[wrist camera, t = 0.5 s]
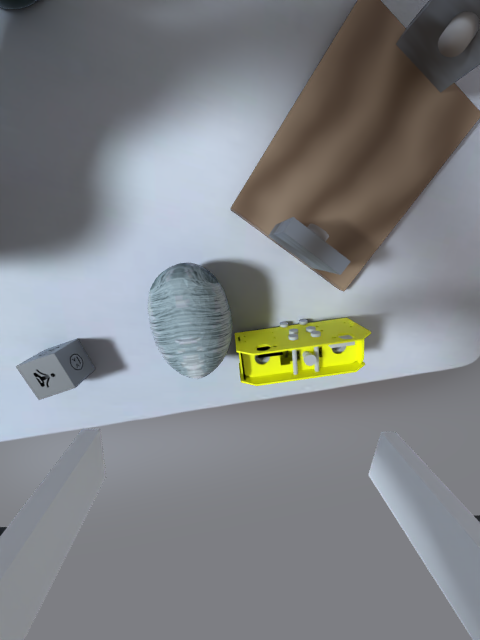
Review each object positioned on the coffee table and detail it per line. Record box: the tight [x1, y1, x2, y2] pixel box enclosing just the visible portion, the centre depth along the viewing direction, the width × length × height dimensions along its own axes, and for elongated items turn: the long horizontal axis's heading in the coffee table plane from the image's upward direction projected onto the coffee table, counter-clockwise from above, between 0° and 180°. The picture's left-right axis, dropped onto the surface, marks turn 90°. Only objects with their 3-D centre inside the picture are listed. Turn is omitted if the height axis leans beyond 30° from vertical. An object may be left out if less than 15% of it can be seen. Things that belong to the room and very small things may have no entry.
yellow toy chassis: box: [235, 318, 371, 386], centre depth 32 cm, size 16×6×8 cm, turn 97°
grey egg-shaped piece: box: [148, 263, 232, 379], centre depth 29 cm, size 14×10×10 cm
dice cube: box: [16, 339, 95, 400], centre depth 32 cm, size 5×5×5 cm
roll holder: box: [231, 0, 480, 291], centre depth 25 cm, size 18×24×10 cm
